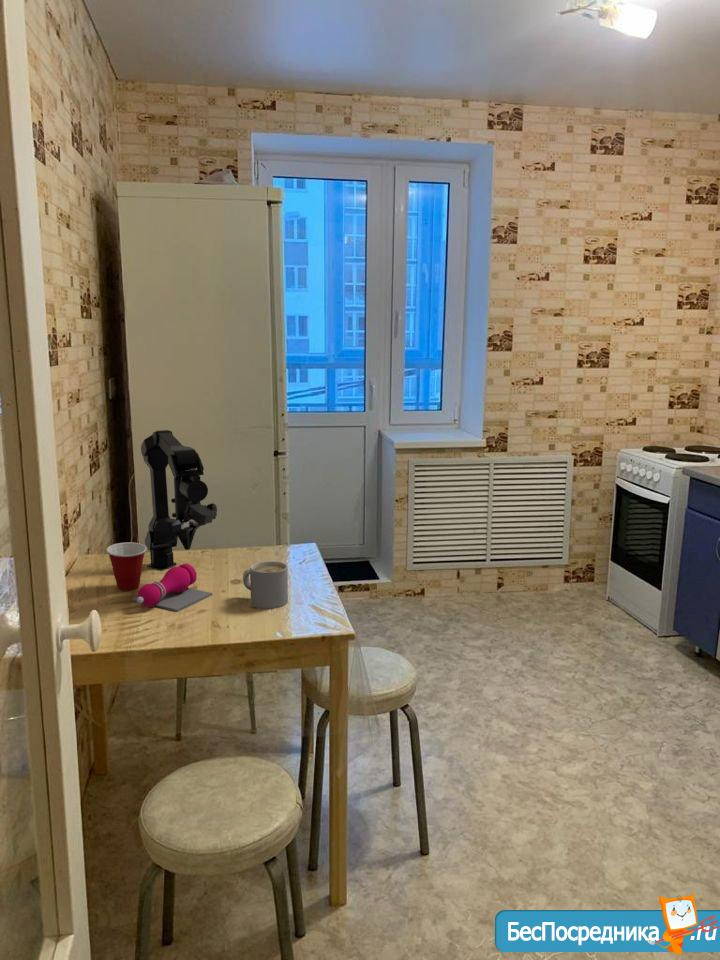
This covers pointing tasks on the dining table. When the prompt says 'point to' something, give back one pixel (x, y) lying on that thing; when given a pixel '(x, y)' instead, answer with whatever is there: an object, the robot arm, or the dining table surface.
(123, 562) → the plastic cup
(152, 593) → the pepper mill
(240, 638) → the dining table surface
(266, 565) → the coffee mug
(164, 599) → the mat
